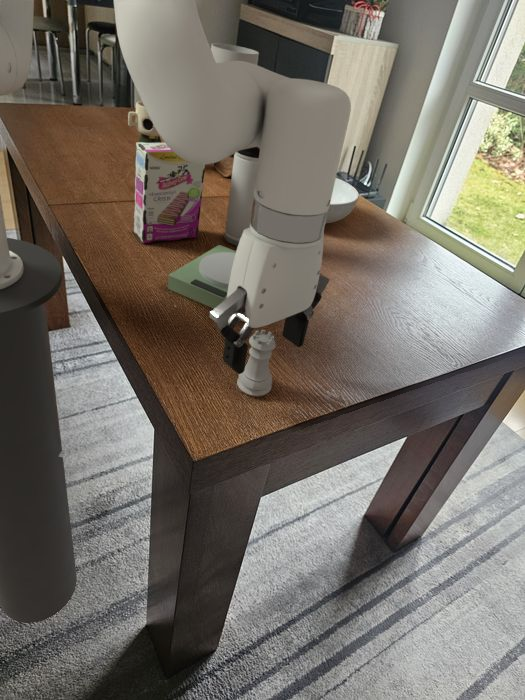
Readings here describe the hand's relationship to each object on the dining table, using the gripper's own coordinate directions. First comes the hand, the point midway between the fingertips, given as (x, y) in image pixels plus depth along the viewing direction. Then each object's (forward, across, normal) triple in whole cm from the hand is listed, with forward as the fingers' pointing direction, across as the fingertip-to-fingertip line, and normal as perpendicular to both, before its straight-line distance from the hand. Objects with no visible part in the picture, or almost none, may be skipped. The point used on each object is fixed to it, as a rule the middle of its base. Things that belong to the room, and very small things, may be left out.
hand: (264, 353), depth 61 cm
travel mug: (+5, -26, -34) cm, 43 cm away
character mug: (+5, -34, -80) cm, 86 cm away
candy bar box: (+5, -14, -42) cm, 44 cm away
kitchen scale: (+5, -13, -22) cm, 26 cm away
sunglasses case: (+5, -55, -64) cm, 85 cm away
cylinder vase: (+5, -62, -84) cm, 105 cm away
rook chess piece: (+6, 0, 0) cm, 6 cm away
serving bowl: (+6, -49, -38) cm, 62 cm away
